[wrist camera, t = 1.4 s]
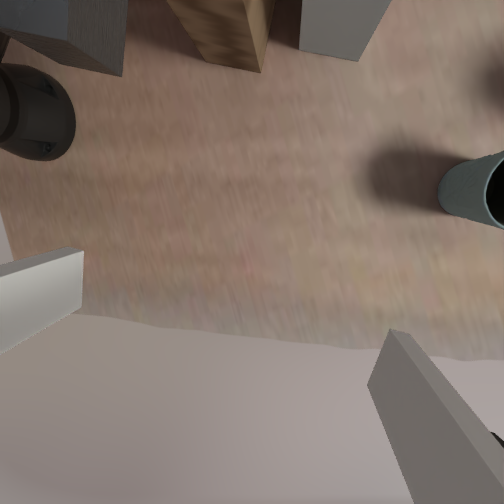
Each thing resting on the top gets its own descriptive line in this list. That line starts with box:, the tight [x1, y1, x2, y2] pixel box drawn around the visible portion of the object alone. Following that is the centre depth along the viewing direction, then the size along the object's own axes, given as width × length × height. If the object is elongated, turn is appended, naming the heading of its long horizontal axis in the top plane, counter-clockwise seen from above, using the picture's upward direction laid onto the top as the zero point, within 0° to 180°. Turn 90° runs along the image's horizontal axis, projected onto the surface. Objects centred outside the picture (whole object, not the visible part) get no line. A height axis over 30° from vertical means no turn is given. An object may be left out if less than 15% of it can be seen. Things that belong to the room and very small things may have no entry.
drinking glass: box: [438, 151, 504, 230], centre depth 35 cm, size 10×10×12 cm
